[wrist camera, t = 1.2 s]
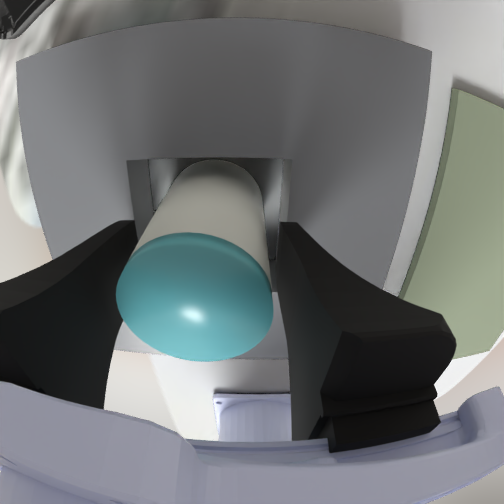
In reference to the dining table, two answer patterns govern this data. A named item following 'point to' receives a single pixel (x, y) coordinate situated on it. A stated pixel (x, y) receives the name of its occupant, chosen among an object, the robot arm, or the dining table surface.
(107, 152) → the housing
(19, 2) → the phone
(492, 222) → the mat
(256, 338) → the cylinder
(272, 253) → the dining table surface
